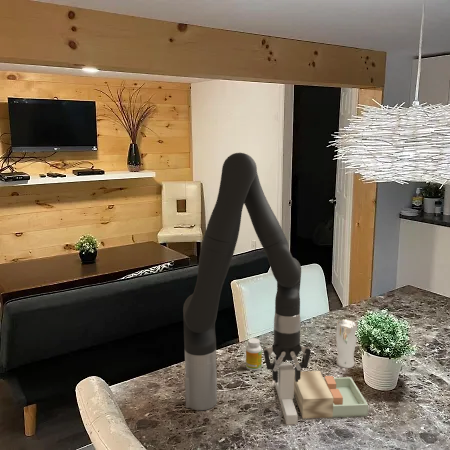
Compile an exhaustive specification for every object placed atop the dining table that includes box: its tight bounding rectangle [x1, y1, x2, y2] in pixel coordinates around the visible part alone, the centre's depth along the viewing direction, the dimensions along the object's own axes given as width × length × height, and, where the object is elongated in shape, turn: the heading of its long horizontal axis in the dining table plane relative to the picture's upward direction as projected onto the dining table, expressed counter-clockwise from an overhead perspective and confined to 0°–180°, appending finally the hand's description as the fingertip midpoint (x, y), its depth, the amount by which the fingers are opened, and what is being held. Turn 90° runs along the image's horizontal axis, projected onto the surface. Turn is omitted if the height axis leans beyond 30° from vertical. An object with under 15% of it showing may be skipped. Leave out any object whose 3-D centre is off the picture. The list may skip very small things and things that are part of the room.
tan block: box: [294, 370, 334, 420], centre depth 135 cm, size 8×15×6 cm, turn 3°
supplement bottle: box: [245, 337, 263, 371], centre depth 156 cm, size 5×5×10 cm
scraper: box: [274, 362, 299, 426], centre depth 134 cm, size 4×20×12 cm, turn 3°
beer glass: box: [335, 319, 358, 369], centre depth 157 cm, size 7×7×15 cm
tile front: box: [330, 389, 343, 405], centre depth 132 cm, size 4×4×2 cm
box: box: [323, 376, 369, 418], centre depth 136 cm, size 10×15×4 cm, turn 3°
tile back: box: [324, 375, 336, 390], centre depth 139 cm, size 4×4×2 cm
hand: (286, 380), depth 134 cm, fingers open, 5 cm apart
